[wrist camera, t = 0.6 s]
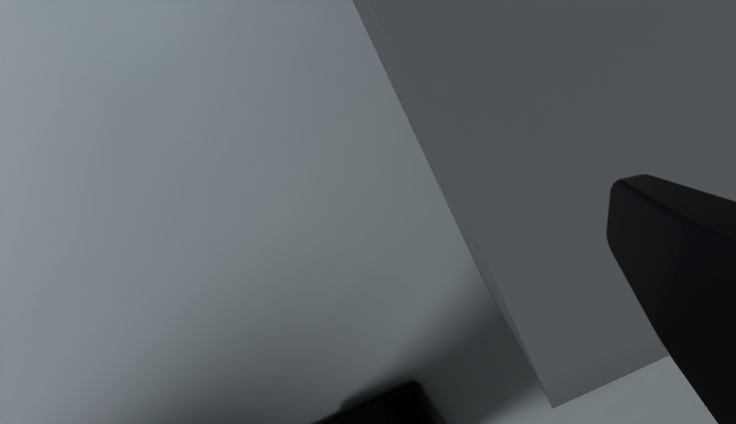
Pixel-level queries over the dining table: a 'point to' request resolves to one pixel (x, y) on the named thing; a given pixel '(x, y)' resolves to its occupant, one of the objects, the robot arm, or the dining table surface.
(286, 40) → the dining table surface
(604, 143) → the camera housing
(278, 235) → the dining table surface
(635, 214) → the robot arm
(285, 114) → the dining table surface
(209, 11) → the dining table surface
